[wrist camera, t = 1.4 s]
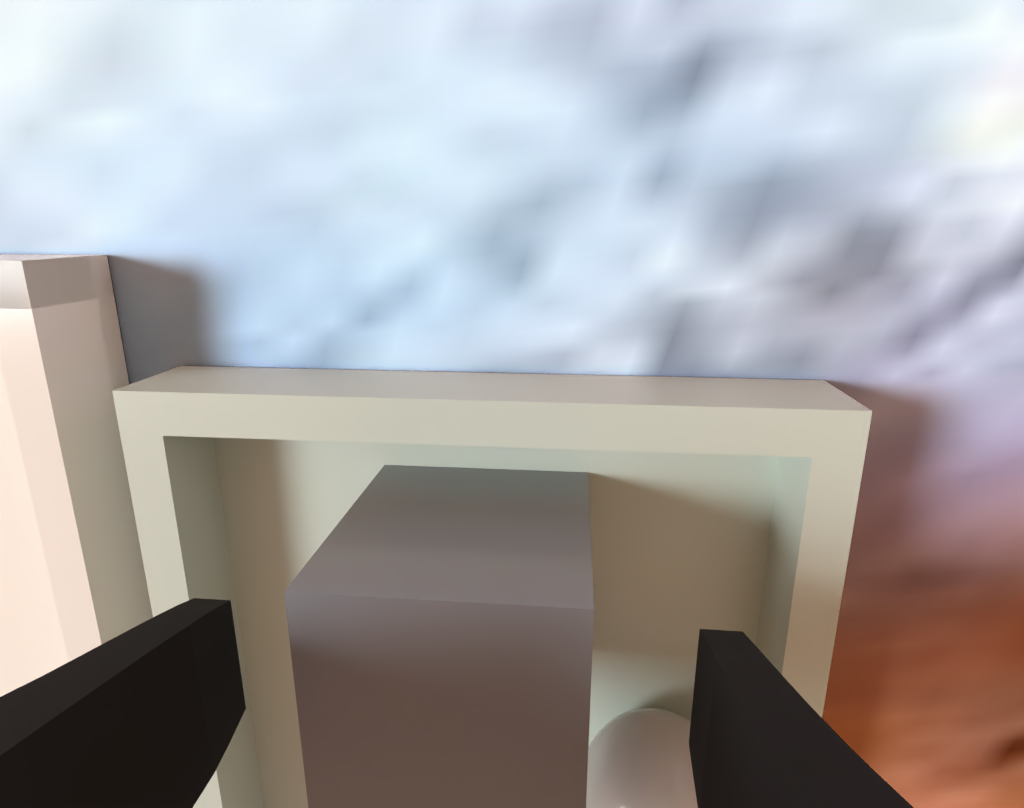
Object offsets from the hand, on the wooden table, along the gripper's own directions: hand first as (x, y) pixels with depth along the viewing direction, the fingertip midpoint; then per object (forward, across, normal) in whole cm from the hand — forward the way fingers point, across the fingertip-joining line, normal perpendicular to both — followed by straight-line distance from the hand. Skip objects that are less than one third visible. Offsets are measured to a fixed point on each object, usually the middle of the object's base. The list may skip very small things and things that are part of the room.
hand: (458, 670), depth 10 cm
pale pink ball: (+3, -3, +4) cm, 6 cm away
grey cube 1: (+3, 0, 0) cm, 3 cm away
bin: (+4, 0, +4) cm, 6 cm away
